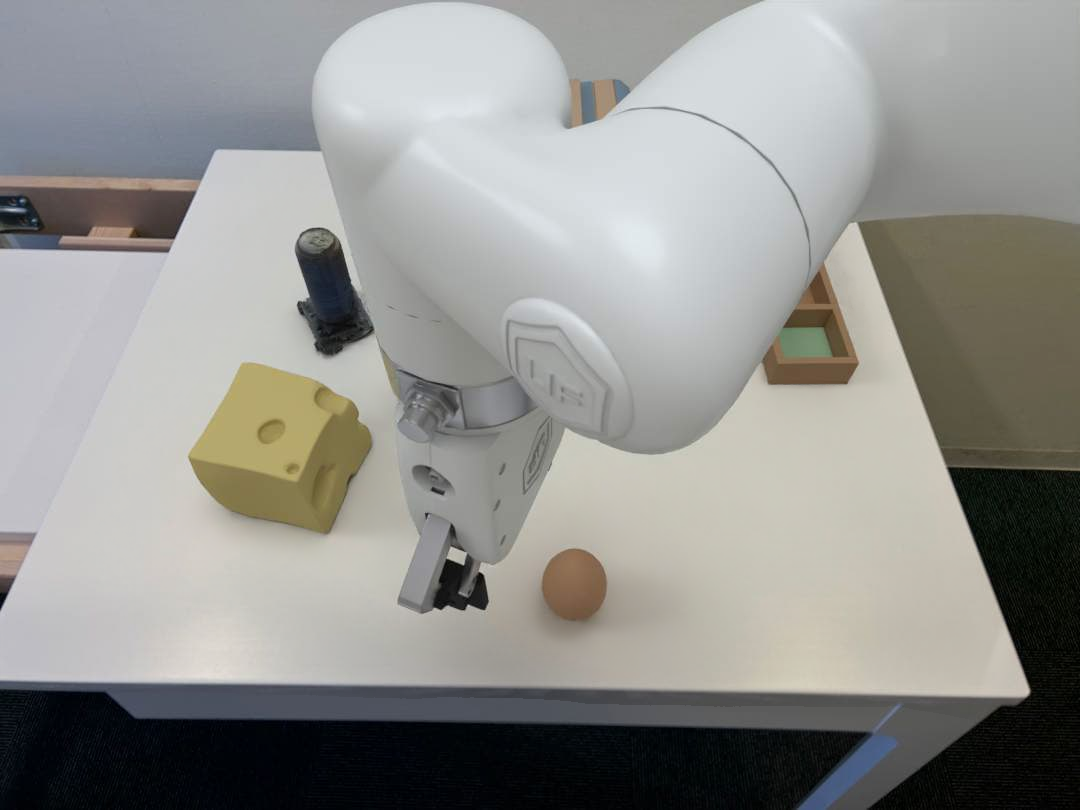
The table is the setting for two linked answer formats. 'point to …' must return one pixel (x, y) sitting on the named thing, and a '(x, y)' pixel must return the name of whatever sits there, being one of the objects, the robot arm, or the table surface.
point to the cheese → (281, 448)
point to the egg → (574, 584)
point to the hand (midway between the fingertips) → (497, 525)
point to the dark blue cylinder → (329, 291)
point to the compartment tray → (813, 341)
